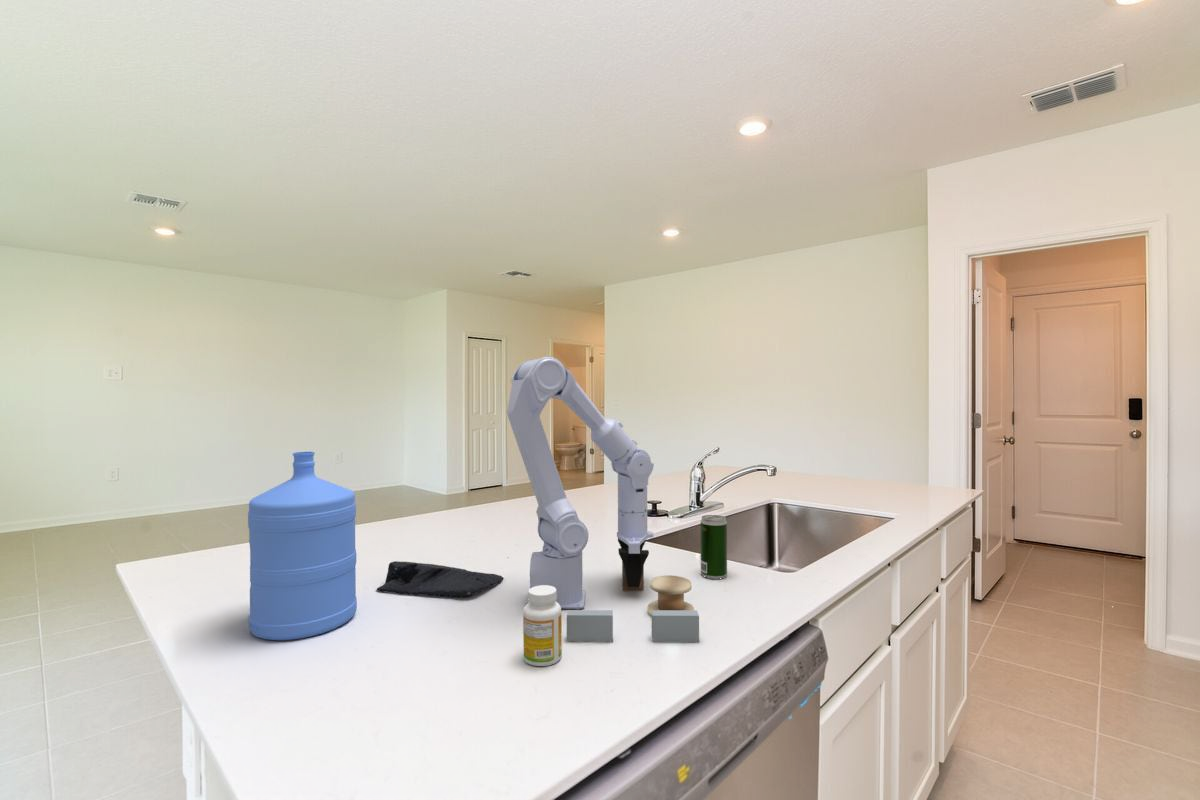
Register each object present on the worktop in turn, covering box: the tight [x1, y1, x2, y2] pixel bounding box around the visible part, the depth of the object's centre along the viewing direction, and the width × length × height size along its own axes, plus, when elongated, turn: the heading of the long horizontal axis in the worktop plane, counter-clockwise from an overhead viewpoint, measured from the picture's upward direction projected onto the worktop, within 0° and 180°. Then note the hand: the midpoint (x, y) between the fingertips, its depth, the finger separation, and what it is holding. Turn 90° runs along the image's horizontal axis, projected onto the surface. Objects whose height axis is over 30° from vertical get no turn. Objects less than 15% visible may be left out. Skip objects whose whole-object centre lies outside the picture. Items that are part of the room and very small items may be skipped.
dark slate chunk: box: [376, 560, 504, 598], centre depth 106 cm, size 15×22×5 cm
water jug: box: [247, 451, 358, 641], centre depth 89 cm, size 16×16×28 cm
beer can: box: [700, 514, 728, 580], centre depth 111 cm, size 5×5×12 cm
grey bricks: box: [566, 609, 700, 643], centre depth 82 cm, size 20×2×4 cm, turn 89°
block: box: [621, 562, 645, 592], centre depth 104 cm, size 4×4×5 cm
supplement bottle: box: [522, 585, 563, 667], centre depth 76 cm, size 5×5×10 cm
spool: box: [646, 574, 696, 618], centre depth 92 cm, size 8×8×5 cm
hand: (632, 580), depth 104 cm, fingers open, 6 cm apart
